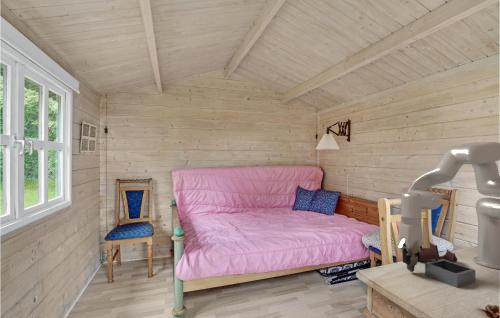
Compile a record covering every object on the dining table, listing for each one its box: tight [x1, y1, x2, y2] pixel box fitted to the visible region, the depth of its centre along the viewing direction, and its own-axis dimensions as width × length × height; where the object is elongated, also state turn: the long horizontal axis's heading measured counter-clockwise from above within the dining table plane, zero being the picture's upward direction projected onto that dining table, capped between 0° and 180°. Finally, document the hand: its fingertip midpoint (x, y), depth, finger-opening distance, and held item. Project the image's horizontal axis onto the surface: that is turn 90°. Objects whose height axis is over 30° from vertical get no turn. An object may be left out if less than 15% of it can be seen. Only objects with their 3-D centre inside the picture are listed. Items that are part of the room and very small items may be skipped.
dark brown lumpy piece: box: [420, 240, 458, 263], centre depth 126 cm, size 6×17×10 cm, turn 78°
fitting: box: [424, 259, 476, 289], centre depth 110 cm, size 12×12×5 cm
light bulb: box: [405, 241, 419, 273], centre depth 114 cm, size 6×6×15 cm
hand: (411, 261), depth 114 cm, fingers closed on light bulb, 5 cm apart
